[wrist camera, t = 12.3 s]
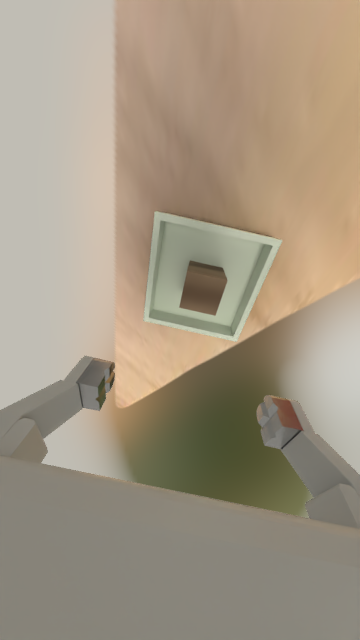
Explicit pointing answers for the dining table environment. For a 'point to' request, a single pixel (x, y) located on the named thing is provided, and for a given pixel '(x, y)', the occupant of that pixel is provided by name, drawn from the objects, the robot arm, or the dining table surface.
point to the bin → (213, 249)
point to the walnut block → (203, 288)
